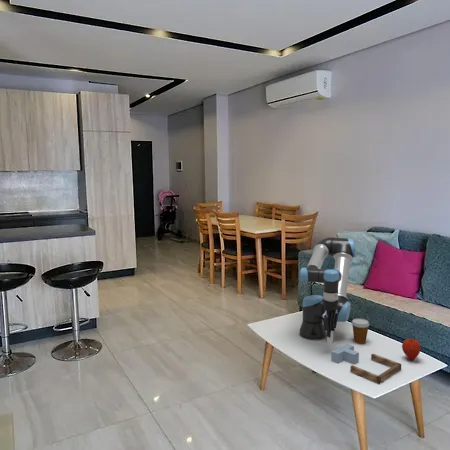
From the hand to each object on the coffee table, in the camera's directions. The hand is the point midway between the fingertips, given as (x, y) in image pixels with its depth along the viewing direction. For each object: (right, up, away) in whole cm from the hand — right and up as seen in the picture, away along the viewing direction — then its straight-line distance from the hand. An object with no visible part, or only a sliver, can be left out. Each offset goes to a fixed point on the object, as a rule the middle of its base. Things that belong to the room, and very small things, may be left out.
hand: (329, 342), depth 212 cm
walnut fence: (+17, -8, -19) cm, 26 cm away
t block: (+7, -7, -7) cm, 12 cm away
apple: (+39, -6, -8) cm, 41 cm away
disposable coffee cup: (+21, -4, +14) cm, 25 cm away
